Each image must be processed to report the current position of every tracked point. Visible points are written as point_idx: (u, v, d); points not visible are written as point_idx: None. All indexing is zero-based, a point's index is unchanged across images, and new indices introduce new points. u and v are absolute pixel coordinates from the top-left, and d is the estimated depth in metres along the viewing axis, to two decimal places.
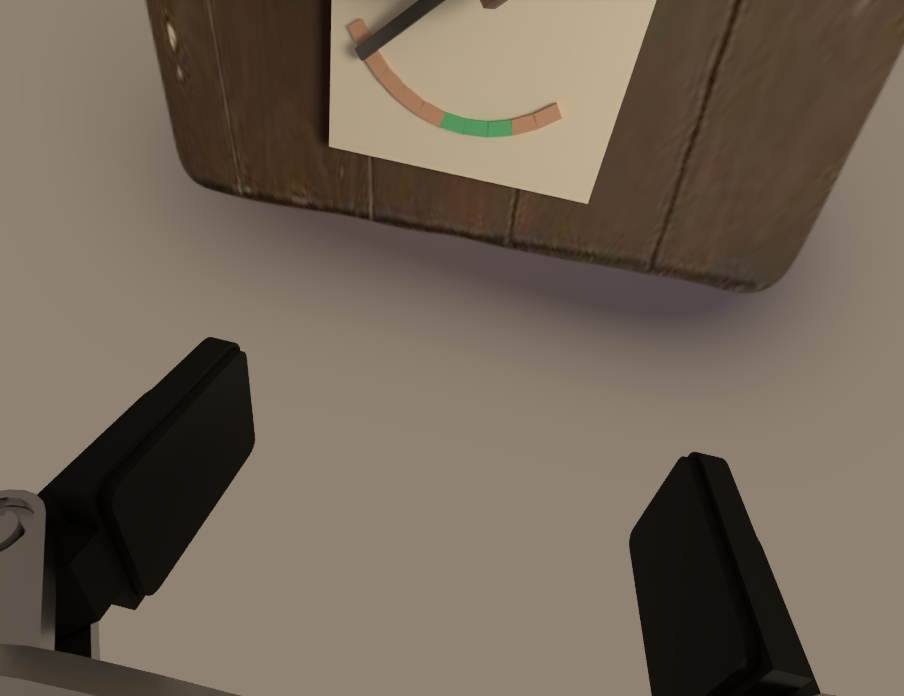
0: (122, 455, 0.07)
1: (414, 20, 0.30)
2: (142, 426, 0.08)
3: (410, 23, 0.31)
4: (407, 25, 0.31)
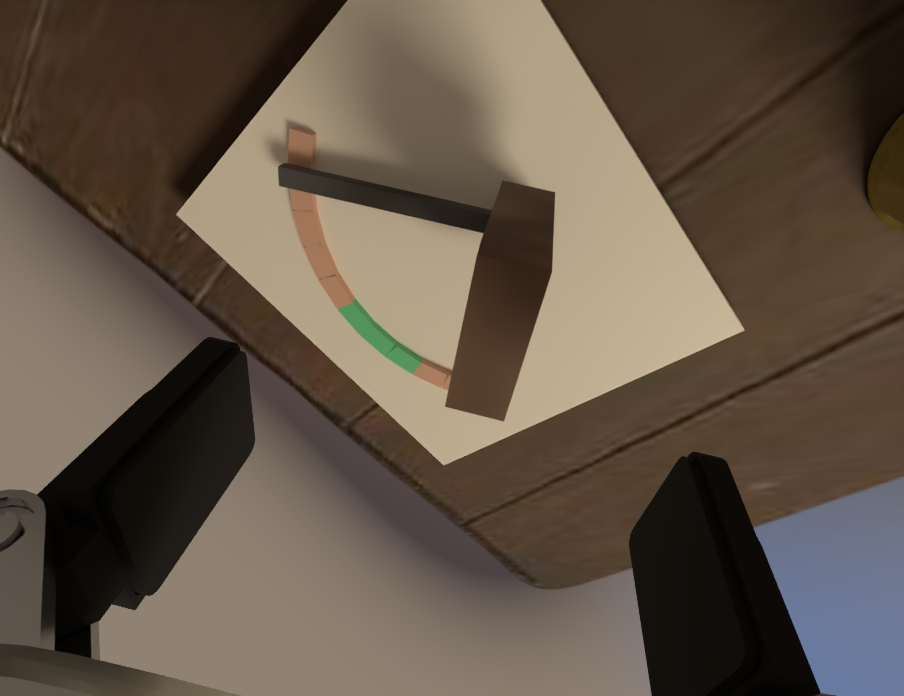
0: (122, 455, 0.07)
1: (379, 207, 0.20)
2: (142, 426, 0.08)
3: (371, 205, 0.20)
4: (366, 204, 0.20)
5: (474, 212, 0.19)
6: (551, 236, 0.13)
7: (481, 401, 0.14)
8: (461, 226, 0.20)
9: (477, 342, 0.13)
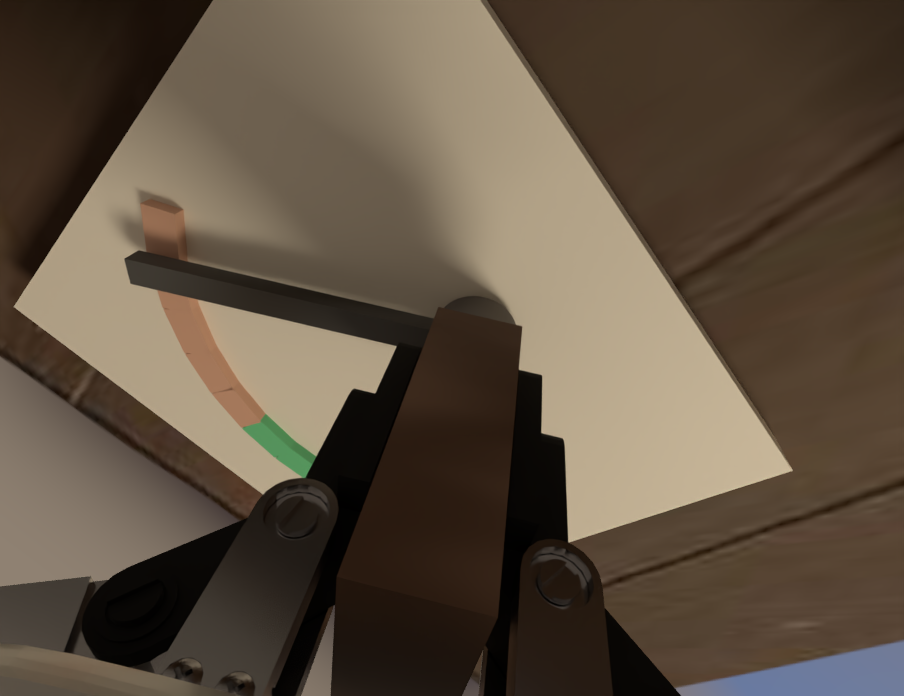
0: (382, 448, 0.08)
1: (274, 315, 0.14)
2: (385, 422, 0.09)
3: (264, 313, 0.14)
4: (256, 311, 0.14)
5: (410, 326, 0.13)
6: (506, 465, 0.07)
7: None
8: (393, 343, 0.14)
9: (366, 678, 0.07)
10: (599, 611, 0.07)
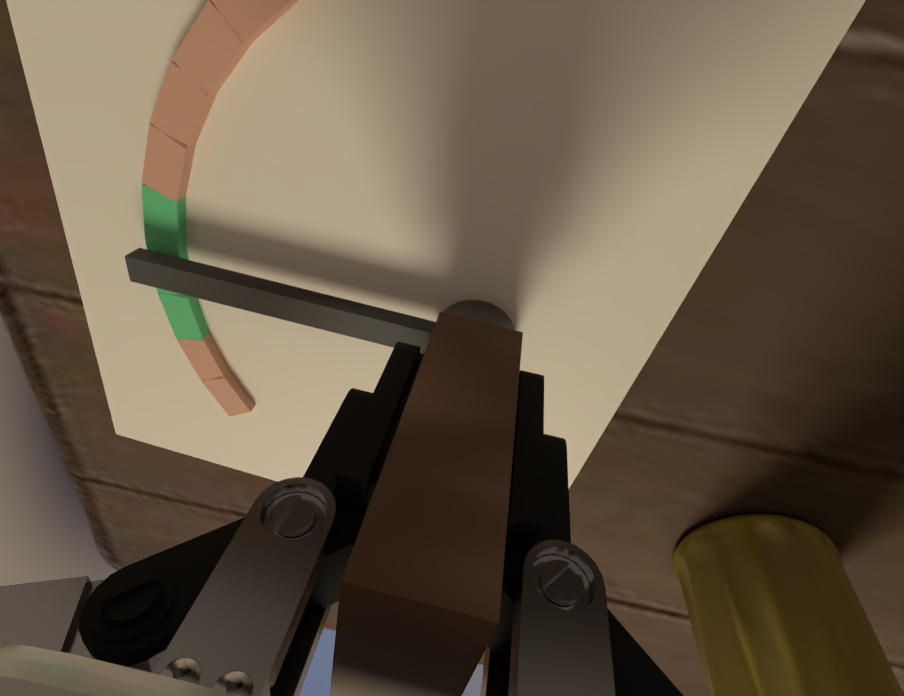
0: (380, 448, 0.08)
1: (274, 315, 0.14)
2: (383, 422, 0.09)
3: (264, 312, 0.14)
4: (256, 310, 0.14)
5: (410, 328, 0.13)
6: (507, 472, 0.07)
7: None
8: (393, 345, 0.14)
9: (365, 679, 0.07)
10: (603, 613, 0.07)
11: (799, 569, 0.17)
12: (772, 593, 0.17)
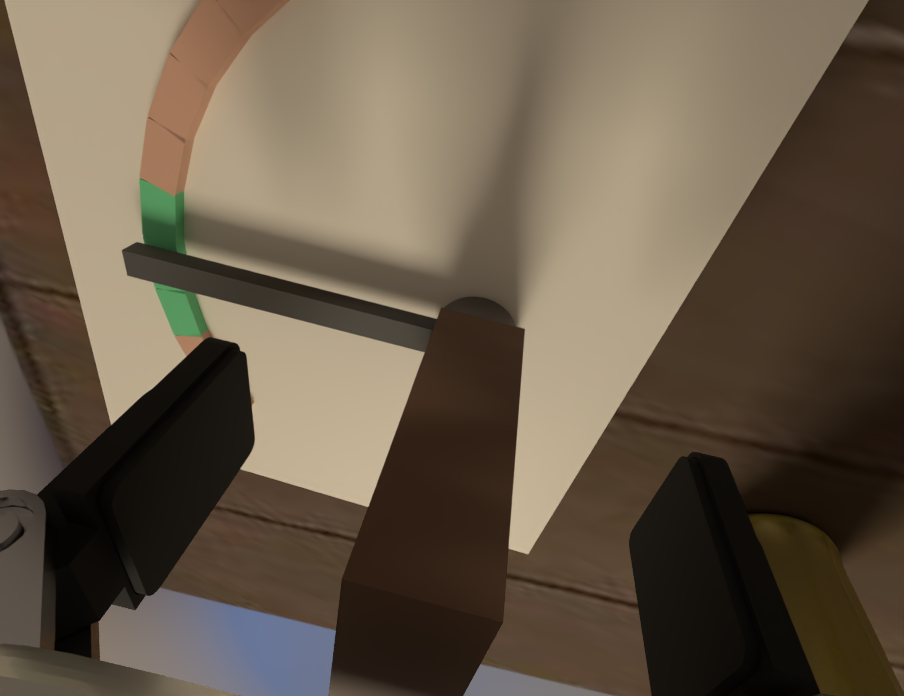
0: (122, 455, 0.07)
1: (273, 310, 0.14)
2: (142, 426, 0.08)
3: (263, 308, 0.14)
4: (255, 306, 0.14)
5: (410, 325, 0.13)
6: (510, 469, 0.07)
7: None
8: (392, 341, 0.14)
9: (365, 679, 0.07)
10: None
11: (799, 569, 0.17)
12: None
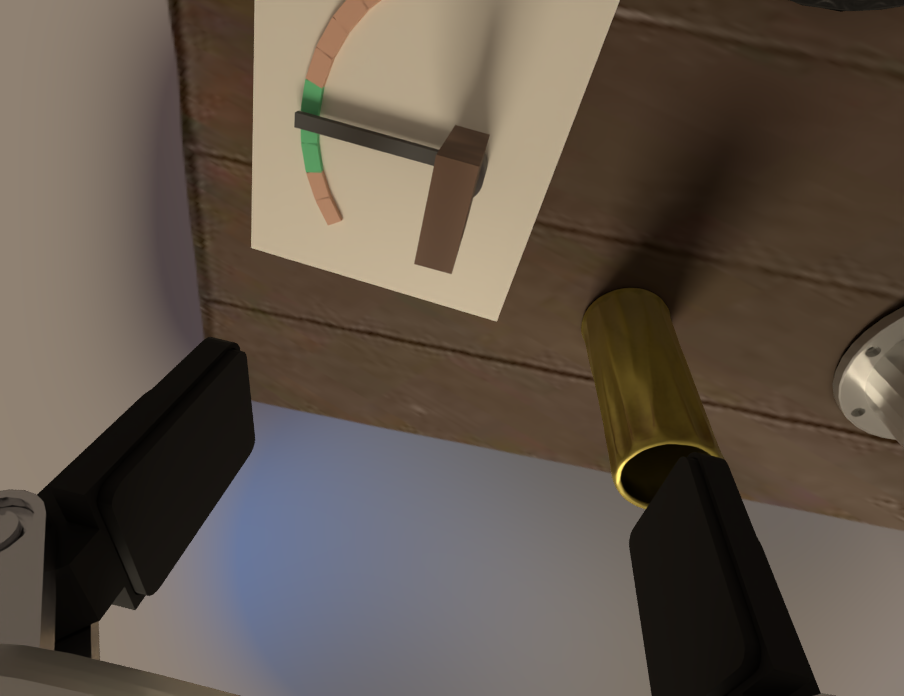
0: (122, 456, 0.07)
1: (368, 146, 0.28)
2: (142, 426, 0.08)
3: (362, 145, 0.28)
4: (359, 143, 0.28)
5: (436, 152, 0.27)
6: (482, 153, 0.21)
7: (437, 259, 0.22)
8: (427, 162, 0.28)
9: (435, 215, 0.21)
10: None
11: (639, 305, 0.32)
12: (623, 314, 0.31)
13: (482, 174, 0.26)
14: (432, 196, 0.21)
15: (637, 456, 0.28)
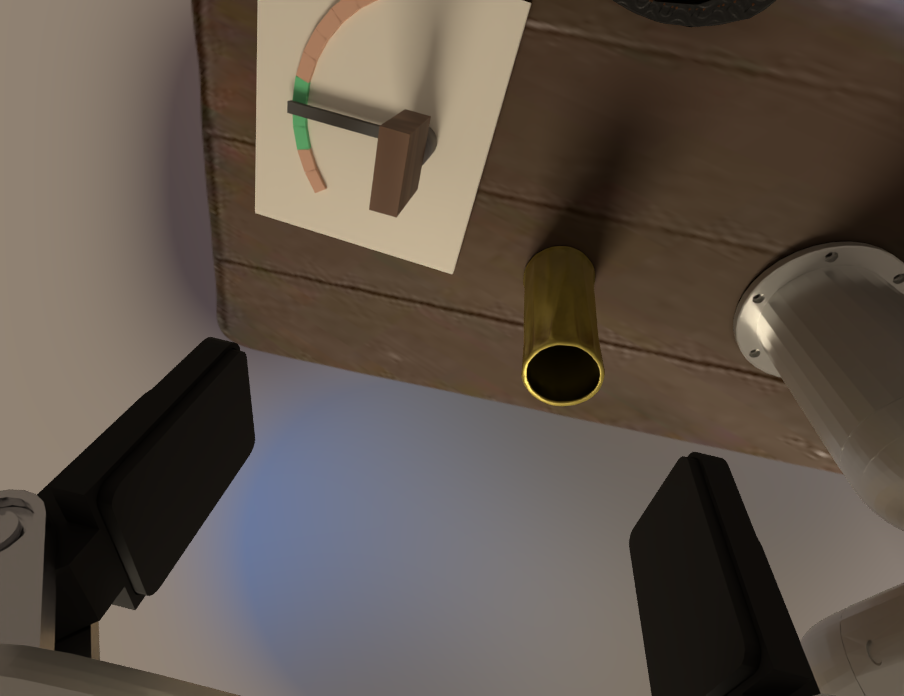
0: (122, 455, 0.07)
1: (343, 127, 0.36)
2: (142, 426, 0.08)
3: (339, 126, 0.36)
4: (336, 125, 0.36)
5: None
6: (417, 127, 0.29)
7: (385, 205, 0.30)
8: None
9: (382, 171, 0.29)
10: None
11: (564, 258, 0.39)
12: (549, 264, 0.39)
13: (427, 147, 0.34)
14: (378, 157, 0.28)
15: (551, 370, 0.35)
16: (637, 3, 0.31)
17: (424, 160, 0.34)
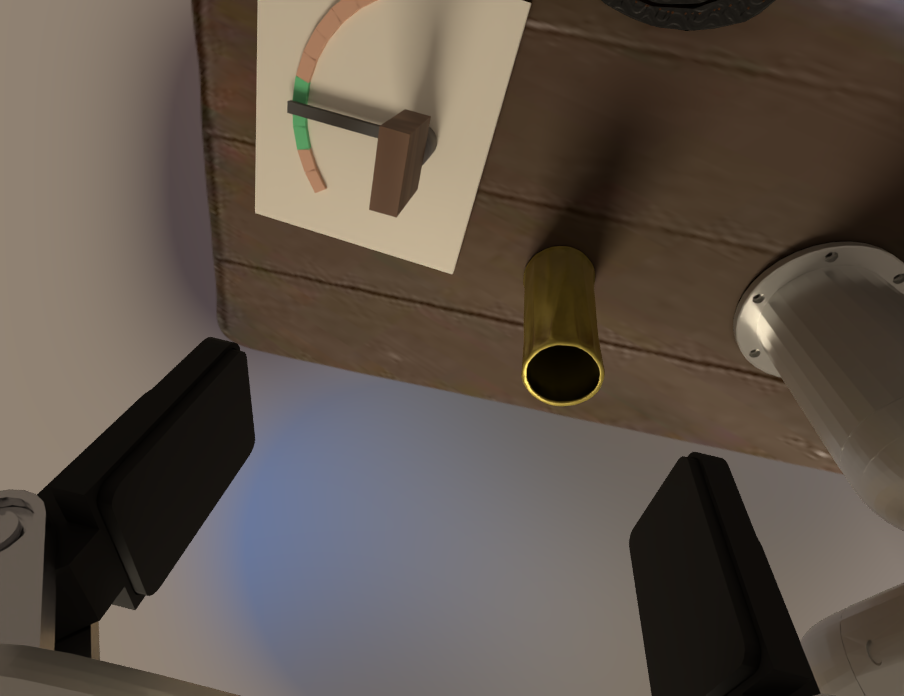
0: (122, 455, 0.07)
1: (343, 127, 0.36)
2: (142, 426, 0.08)
3: (339, 126, 0.36)
4: (336, 125, 0.36)
5: None
6: (417, 127, 0.29)
7: (385, 205, 0.30)
8: None
9: (382, 171, 0.29)
10: None
11: (564, 258, 0.39)
12: (549, 264, 0.39)
13: (427, 147, 0.34)
14: (378, 157, 0.28)
15: (550, 370, 0.35)
16: (633, 8, 0.31)
17: (424, 160, 0.34)
